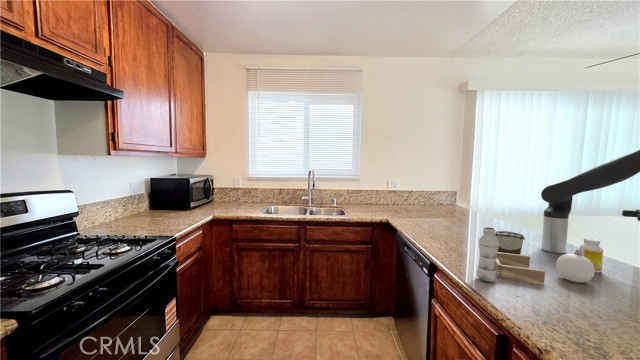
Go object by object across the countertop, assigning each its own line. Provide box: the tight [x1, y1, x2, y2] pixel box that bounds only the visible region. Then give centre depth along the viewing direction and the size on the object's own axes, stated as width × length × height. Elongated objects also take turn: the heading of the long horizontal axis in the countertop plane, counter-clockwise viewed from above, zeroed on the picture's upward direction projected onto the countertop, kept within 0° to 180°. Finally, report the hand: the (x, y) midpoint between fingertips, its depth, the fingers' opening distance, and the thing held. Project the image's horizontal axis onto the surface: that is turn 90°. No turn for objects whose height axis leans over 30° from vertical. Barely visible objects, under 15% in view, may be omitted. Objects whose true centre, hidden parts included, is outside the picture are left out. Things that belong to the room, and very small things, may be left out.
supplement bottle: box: [579, 237, 604, 274], centre depth 108 cm, size 7×7×13 cm
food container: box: [494, 230, 526, 255], centre depth 128 cm, size 12×6×10 cm, turn 58°
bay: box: [496, 252, 546, 286], centre depth 105 cm, size 17×14×5 cm
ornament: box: [555, 249, 596, 284], centre depth 98 cm, size 10×10×12 cm
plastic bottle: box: [476, 226, 499, 283], centre depth 98 cm, size 6×7×20 cm
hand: (630, 215), depth 91 cm, fingers open, 7 cm apart
